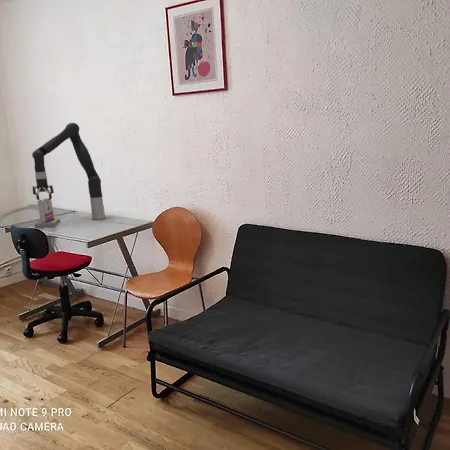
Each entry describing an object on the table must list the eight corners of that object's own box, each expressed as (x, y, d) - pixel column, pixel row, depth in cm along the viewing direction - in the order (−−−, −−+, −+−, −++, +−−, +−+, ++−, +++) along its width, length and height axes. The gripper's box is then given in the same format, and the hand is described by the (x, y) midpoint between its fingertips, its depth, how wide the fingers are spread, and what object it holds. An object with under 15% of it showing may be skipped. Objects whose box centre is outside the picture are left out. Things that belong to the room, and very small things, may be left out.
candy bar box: (48, 219, 352) (45, 198, 348) (54, 219, 351) (51, 198, 347) (40, 222, 341) (37, 200, 338) (46, 222, 341) (43, 200, 337)
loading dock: (60, 222, 355) (59, 217, 354) (54, 227, 340) (53, 222, 339) (41, 223, 354) (41, 218, 354) (34, 228, 339) (34, 223, 338)
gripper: (52, 176, 343) (55, 198, 346) (33, 177, 342) (36, 199, 346) (49, 178, 335) (52, 200, 339) (29, 179, 334) (32, 201, 338)
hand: (44, 199), depth 342 cm, fingers open, 8 cm apart
